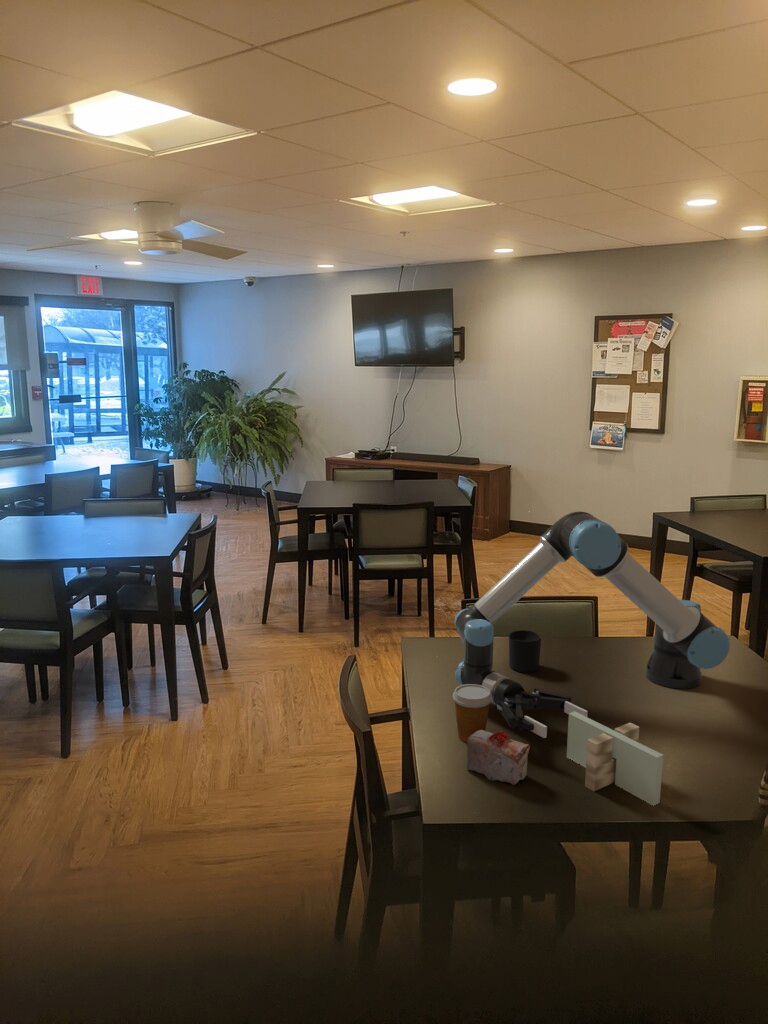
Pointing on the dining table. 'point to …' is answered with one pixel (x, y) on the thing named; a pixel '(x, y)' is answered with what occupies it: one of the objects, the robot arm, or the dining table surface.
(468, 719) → the disposable coffee cup
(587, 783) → the birch slotted plate
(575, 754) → the sage slotted plate
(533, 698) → the robot arm
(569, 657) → the dining table surface
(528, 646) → the pen holder
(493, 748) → the food item
